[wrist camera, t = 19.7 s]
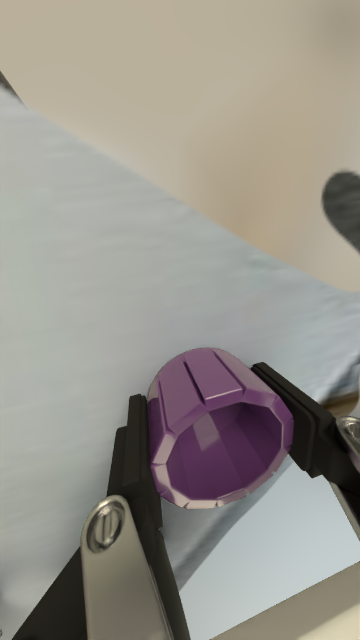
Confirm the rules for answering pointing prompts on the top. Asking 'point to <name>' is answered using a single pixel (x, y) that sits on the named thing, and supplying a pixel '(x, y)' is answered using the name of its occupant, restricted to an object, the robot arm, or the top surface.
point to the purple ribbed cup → (214, 429)
